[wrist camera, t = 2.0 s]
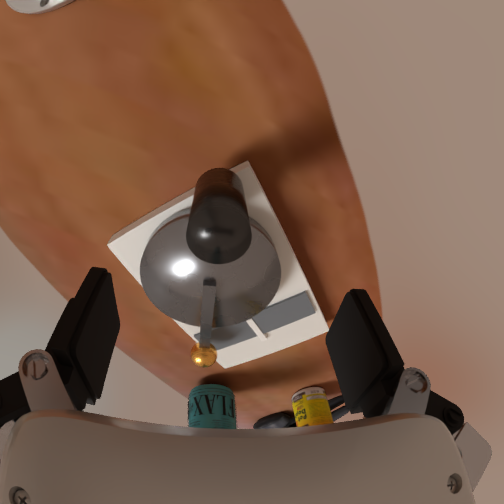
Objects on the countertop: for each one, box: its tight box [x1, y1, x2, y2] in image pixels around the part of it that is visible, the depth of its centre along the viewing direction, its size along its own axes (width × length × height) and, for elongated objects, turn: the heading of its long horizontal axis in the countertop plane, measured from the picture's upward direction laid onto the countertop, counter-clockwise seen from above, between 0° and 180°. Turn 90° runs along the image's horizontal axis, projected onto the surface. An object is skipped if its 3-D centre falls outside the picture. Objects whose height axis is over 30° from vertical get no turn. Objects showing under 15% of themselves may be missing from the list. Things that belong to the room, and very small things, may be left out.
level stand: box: [107, 161, 329, 369], centre depth 26 cm, size 20×13×2 cm, turn 26°
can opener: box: [253, 396, 350, 429], centre depth 44 cm, size 18×7×6 cm, turn 118°
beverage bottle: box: [188, 384, 238, 429], centre depth 29 cm, size 6×7×20 cm
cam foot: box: [140, 168, 281, 367], centre depth 21 cm, size 19×11×7 cm, turn 171°
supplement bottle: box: [292, 387, 333, 427], centre depth 37 cm, size 6×6×10 cm
